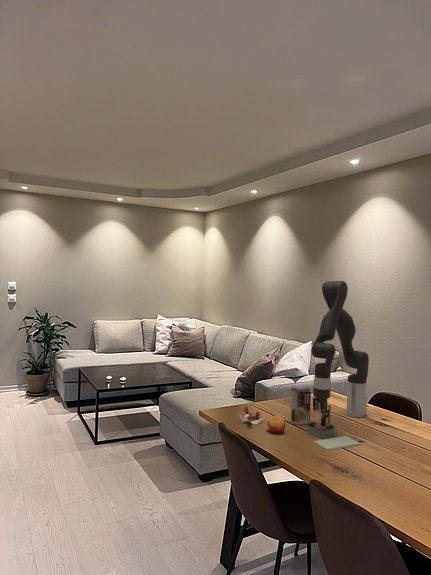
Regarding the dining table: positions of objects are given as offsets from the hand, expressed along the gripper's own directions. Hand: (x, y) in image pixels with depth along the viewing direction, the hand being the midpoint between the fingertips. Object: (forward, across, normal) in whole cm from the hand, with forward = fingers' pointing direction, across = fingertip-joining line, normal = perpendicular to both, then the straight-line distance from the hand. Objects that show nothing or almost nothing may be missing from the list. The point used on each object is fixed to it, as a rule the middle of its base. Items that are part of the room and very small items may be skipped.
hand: (320, 423), depth 197 cm
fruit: (+4, +3, +20) cm, 21 cm away
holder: (+4, -1, 0) cm, 4 cm away
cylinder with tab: (+4, 0, -1) cm, 4 cm away
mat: (+4, -14, -1) cm, 14 cm away
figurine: (+4, +16, +28) cm, 32 cm away
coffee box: (+4, +14, +4) cm, 15 cm away
